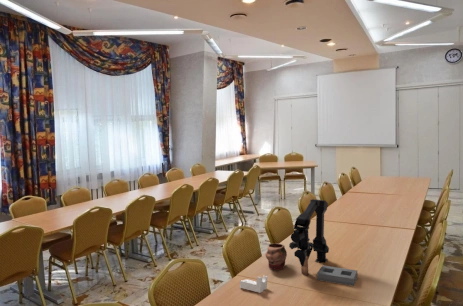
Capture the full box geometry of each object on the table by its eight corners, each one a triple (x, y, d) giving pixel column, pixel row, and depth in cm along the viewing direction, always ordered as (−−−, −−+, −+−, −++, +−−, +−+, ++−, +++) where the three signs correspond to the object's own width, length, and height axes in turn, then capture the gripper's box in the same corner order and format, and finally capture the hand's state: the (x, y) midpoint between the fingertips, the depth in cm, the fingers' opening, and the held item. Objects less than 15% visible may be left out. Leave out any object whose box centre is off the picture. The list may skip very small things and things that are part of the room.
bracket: (266, 290, 192) (267, 276, 194) (260, 292, 187) (261, 278, 188) (246, 285, 200) (247, 272, 201) (239, 287, 194) (240, 273, 195)
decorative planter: (274, 259, 234) (273, 239, 233) (292, 262, 228) (291, 241, 227) (262, 270, 217) (261, 248, 216) (280, 274, 210) (279, 251, 209)
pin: (302, 271, 212) (302, 255, 211) (309, 272, 210) (308, 256, 210) (300, 274, 209) (300, 257, 208) (307, 275, 207) (306, 258, 206)
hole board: (322, 271, 210) (322, 265, 210) (357, 277, 201) (357, 270, 200) (317, 279, 200) (316, 273, 200) (353, 285, 190) (353, 278, 190)
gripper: (295, 231, 220) (296, 256, 221) (285, 241, 204) (286, 267, 205) (313, 233, 215) (314, 258, 216) (304, 243, 198) (305, 270, 199)
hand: (304, 263), depth 209 cm, fingers open, 9 cm apart
